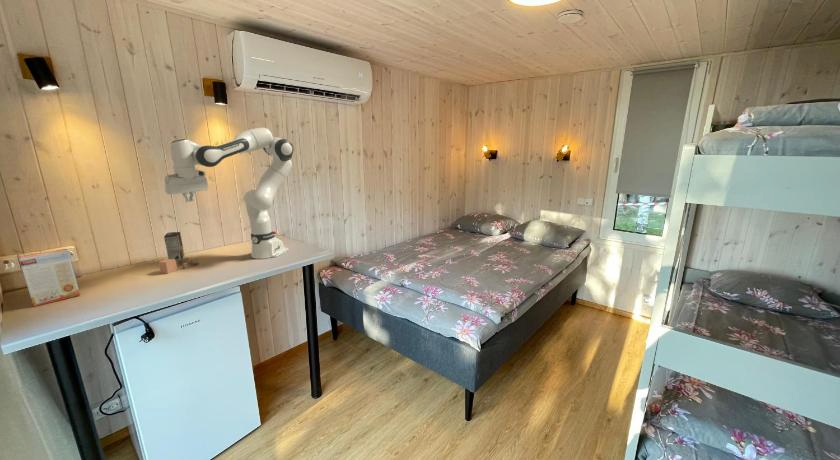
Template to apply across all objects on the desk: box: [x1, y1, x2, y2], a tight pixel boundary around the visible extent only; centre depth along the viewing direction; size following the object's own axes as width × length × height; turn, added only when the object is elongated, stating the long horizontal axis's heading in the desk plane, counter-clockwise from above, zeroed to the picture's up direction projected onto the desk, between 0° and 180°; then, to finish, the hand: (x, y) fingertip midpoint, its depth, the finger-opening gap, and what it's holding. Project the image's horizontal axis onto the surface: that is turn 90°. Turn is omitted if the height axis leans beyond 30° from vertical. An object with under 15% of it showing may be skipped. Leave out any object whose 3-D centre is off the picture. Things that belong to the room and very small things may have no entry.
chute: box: [176, 257, 199, 270], centre depth 183 cm, size 15×9×4 cm, turn 163°
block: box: [158, 258, 178, 274], centre depth 177 cm, size 5×5×6 cm
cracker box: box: [18, 248, 81, 307], centre depth 144 cm, size 14×6×21 cm, turn 141°
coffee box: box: [163, 231, 185, 261], centre depth 195 cm, size 9×6×16 cm
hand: (189, 201), depth 170 cm, fingers closed
